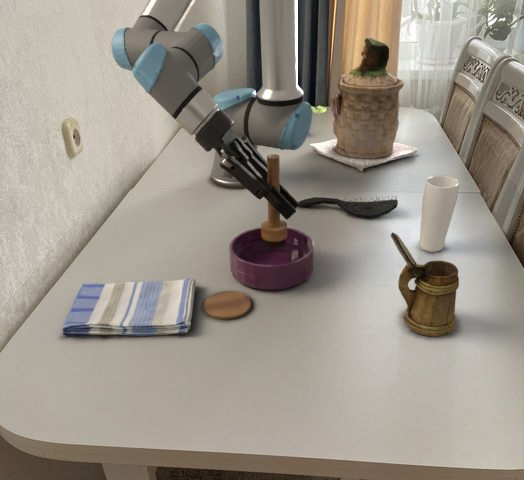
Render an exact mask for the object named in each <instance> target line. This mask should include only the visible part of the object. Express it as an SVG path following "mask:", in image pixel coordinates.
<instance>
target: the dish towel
mask: <svg viewBox="0 0 524 480" xmlns="http://www.w3.org/2000/svg"><path fill="white" fill-rule="evenodd" d="M196 284H197V283H196V279H194V278H183V279H175V280H147V281H146V280H145V281H135V282H133V281H131V282H130V281H128V282H127V281H124V282H123V281H122V282H121V281H119V282H113V283H83V284H81V287H80V289H79V291H78V292H77V295H76V296H75V299H74V300H73V301H74V302H73V304H72V306H71V309H70V311H69V313H68V315H67V317H66V320H65V323H64V324H63V327H62V335H63V336H69V337H71V336H85V335H96V336H98V335H99V336H108V335H117V336H119V335H120V336H121V335H122V336H139V337H140V336H141V337H143V336H146V337H147V336H160V335H177V334H179V335H181V334H187V333H188V332H189V330H191V325H192V322H191V321H192V318H193V317H192V316H193V310H194V301H195V291H196V286H197V285H196Z"/></svg>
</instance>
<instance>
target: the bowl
mask: <svg viewBox="0 0 524 480" xmlns="http://www.w3.org/2000/svg"><path fill="white" fill-rule="evenodd" d="M228 252H229V263H230V272H231V274H232V277H233V278H234V279H235V280H236V281H238V282H239V283H241V284H243V285H245V286H248V287H250V288H253V289H256V290H262V291H263V290H264V291H279V290H285V289H291V288H292V287H295V286H297V285H300V284H301V283H303V282H305V281H307V280H308V279H309V278H310V277H311V276H312V273H313V271H314V261H315V259H314V258H315V243H314V241H313V239H312V238H311V237H310V235H308V234H307V233H305V232H303V231H301V230H298V229H295V228H292V227H287V238H286V244H285V245H284V246H282V247H279V248H269V247H266V246H264V245H263V242H262V237H261V226H260V227H255V228H252V229H247V230H244V231H243V232H241V233H239V234H237V235H236V236H234V237H233V239H232V240H231V241H230V243H229V249H228Z"/></svg>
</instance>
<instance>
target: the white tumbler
mask: <svg viewBox="0 0 524 480" xmlns="http://www.w3.org/2000/svg"><path fill="white" fill-rule="evenodd" d="M459 189H460V181H459V180H458V179H456V177H455V178H454V177H452V176H448V175H434V176H433V175H432V176H430V177H427V179H426V180H425V185H424V188H423V195H422V204H421V219H420V232H419V240H418V246H419V247H420V249H422V250H423V251H426V252H430V253H436V252H439V251H442V250H443V249H444V246H445V243H446V238H447V234H448V231H449V228H450V225H451V221H452V218H453V214H454V211H455V208H456V204H457V200H458V196H459V195H458V194H459Z"/></svg>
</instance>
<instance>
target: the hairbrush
mask: <svg viewBox="0 0 524 480" xmlns="http://www.w3.org/2000/svg"><path fill="white" fill-rule="evenodd" d="M381 197H382V198H381V200H380V197H379V198H378V196H376V197H373V198H372V197H369V199H368V198H367V197H364V198H363V200H362V198H357V199H356V198H354V201H353V200H352V199H350V197H349V198H348V199H349V200H346V197H344V198H343V200H342V199H340V198H334V197H324V196H321V197H320V196H317V197H316V196H314V197H309V198H304V199H302V200H299V201H297V202H298V203H299V206H298V207H302V208H304V207H310V206H318V205H336V206H337V207H339V208H340V209H342V210H343V211H344V212H345V213H347V214H348V215H350V216H353V217H355V218H359V219H373V218H379V217H382V216H385V215H388V214H390V213H391V212H393V211H394V210H395V209H396V208H397V207H398V205H399V200H398V199H397V197H395V195H392V198H391V199H390V196H389V195H387V196H385V197H383V196H381ZM374 198H375V199H374ZM386 198H387V199H386ZM394 198H395V199H394ZM367 200H368V201H367ZM370 200H371V201H370Z"/></svg>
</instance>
